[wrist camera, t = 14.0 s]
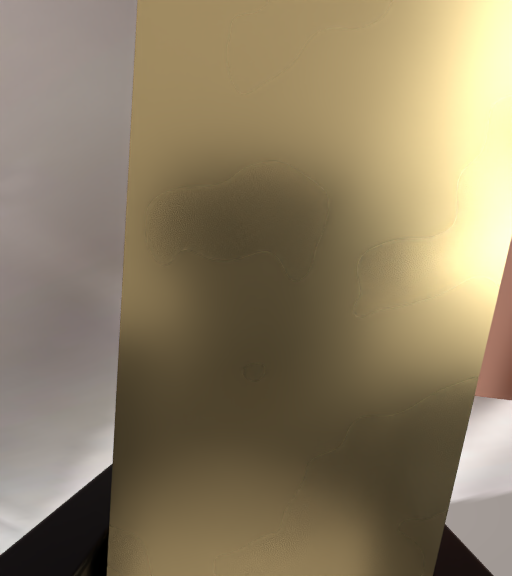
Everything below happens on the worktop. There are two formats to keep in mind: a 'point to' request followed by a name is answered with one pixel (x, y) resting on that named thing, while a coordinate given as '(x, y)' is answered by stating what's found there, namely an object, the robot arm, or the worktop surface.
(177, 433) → the brass block
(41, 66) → the worktop surface
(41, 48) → the worktop surface
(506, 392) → the rust cradle
